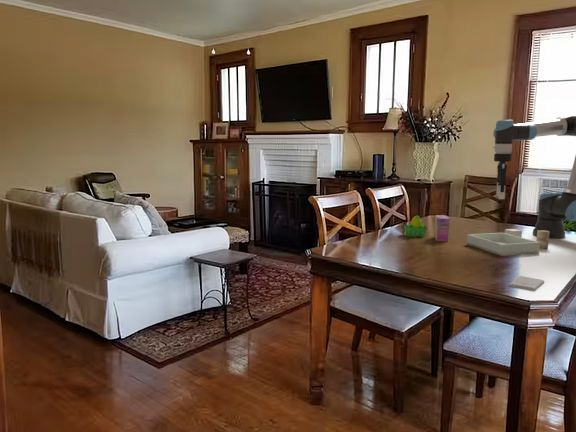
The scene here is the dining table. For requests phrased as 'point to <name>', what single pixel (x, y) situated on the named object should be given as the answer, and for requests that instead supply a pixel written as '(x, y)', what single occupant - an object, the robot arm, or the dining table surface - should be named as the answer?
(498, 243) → the tote
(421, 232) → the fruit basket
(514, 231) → the grey cube
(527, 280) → the external hard drive
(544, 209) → the robot arm
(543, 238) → the beech cylinder
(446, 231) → the box
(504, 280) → the dining table surface
